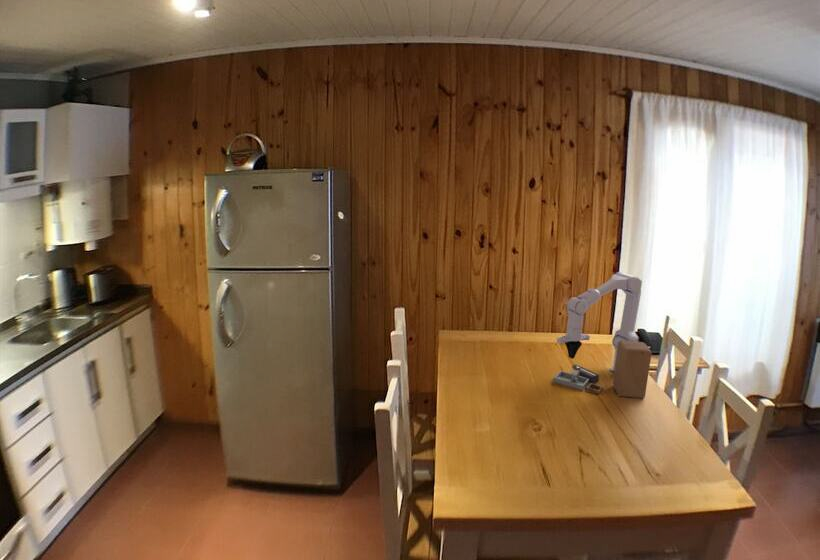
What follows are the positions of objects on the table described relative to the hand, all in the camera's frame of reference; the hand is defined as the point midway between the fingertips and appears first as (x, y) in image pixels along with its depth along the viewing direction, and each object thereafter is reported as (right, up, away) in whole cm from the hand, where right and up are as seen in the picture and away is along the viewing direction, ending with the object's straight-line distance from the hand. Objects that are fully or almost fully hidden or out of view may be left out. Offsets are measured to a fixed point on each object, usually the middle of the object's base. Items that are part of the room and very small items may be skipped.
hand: (571, 357), depth 187 cm
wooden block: (+20, -13, -9) cm, 25 cm away
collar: (+7, -12, -7) cm, 15 cm away
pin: (+1, -10, -2) cm, 10 cm away
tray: (-1, -10, -1) cm, 10 cm away
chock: (+7, -10, +3) cm, 12 cm away
